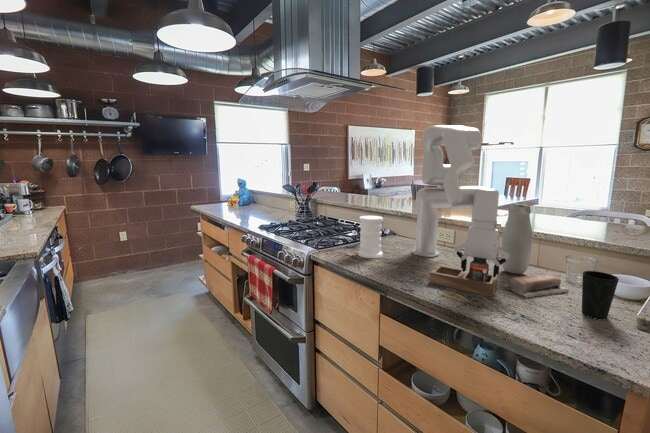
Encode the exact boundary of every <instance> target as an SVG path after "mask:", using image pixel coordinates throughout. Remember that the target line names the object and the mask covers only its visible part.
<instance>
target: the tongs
mask: <svg viewBox="0 0 650 433" xmlns="http://www.w3.org/2000/svg"><path fill="white" fill-rule="evenodd" d="M441 296H443V297H446V298H449V299H452V300H455V301H459V302H463V303H466V304H469V305H472V306H475V305H476V306H475V307H478V308H480V309H481V308H482V307H483V306H482V305H481V304H479V303H476V302H473V301H471V300H469V299H468V298H466V297H464V296H463V295H461V294H458V293H456V292H451V291H448V292H446V293H443V294H442V295H441Z"/></svg>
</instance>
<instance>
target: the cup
mask: <svg viewBox="0 0 650 433" xmlns="http://www.w3.org/2000/svg"><path fill="white" fill-rule="evenodd" d="M619 281H620V279H619V277H618V276H616V275H613V274H610V273H608V272H607V273H606V272H602V271H596V270H595V271H594V270H586V271H585V270H584V271H583V272H582V290H581V291H582V293H581V313H583V314H584V315H583V314H582V315H583V316H585V315H586V316H585V317H587V316H589V317H588V318H590V317H592V318H591V319H593V318H596V319H595V320H597V319H606V320H607V319H608V316H609V313H610V309H611V306H612V302H613V300H614V296H615V293H616V290H617V286H618V284H619Z"/></svg>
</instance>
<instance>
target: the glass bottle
mask: <svg viewBox="0 0 650 433" xmlns="http://www.w3.org/2000/svg"><path fill="white" fill-rule="evenodd" d="M531 211H532V209H531V206H530V205H529V204H527V203H525V202H513V203H511V204H510V205H509V207H508V213H507V215H508V216H507V219H506V222H505V225H504V227H503V231H502V234H501V235H502V236H501V247H500V248H501V249H503V250H505V251H506V252H508V253H510V257H509V258H508V259H507V260H506V262H504V263H503V264H501V265H500V266H501V268H502V269H503V270H504V271H505V272H507V273H508V274H509V273H510V274H513V275H521V274H524V273H525V272H527V270H528V269H529V267H530V261H531V255H532V248H533V247H532V246H533V238H534V232H533V227H532V223H531V216H530V215H531V213H532V212H531ZM503 257H504V255H503V254H501V253H500V259H502V258H503Z"/></svg>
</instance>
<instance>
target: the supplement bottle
mask: <svg viewBox="0 0 650 433" xmlns="http://www.w3.org/2000/svg"><path fill="white" fill-rule="evenodd" d="M472 258H473V260H472V261H470V262H469V269H468V270H469V279H473V280H479V281H484V282H487V281H488V274H489V269H490V265H489V263H488V262H487V259H483V258H477V257H472Z"/></svg>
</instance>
